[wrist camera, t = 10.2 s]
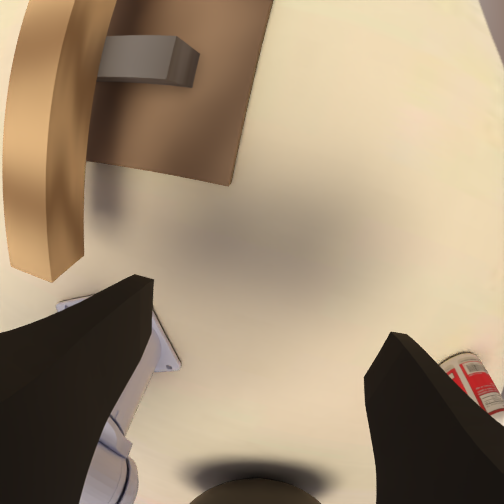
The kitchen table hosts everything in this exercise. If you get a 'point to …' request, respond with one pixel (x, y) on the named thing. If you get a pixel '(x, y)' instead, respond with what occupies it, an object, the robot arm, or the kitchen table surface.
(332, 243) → the kitchen table surface
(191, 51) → the ridge stand
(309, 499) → the bowl of black rocks
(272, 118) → the kitchen table surface
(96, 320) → the robot arm
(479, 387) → the pill bottle
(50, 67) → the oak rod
